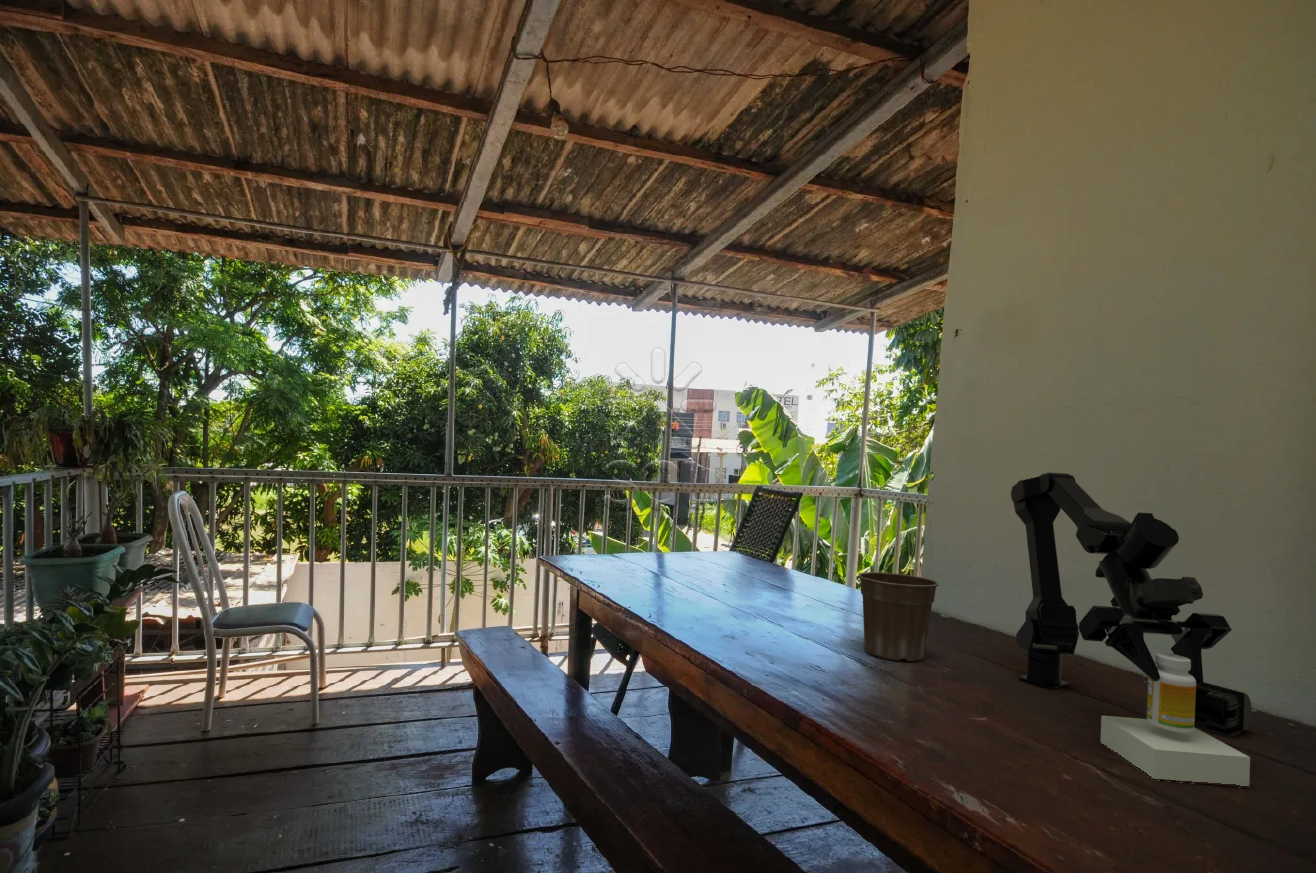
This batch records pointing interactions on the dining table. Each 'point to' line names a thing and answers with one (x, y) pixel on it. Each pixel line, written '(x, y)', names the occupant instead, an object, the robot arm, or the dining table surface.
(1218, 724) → the end cap
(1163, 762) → the plinth
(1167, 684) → the supplement bottle
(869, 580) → the plant pot
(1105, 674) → the dining table surface
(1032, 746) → the dining table surface
